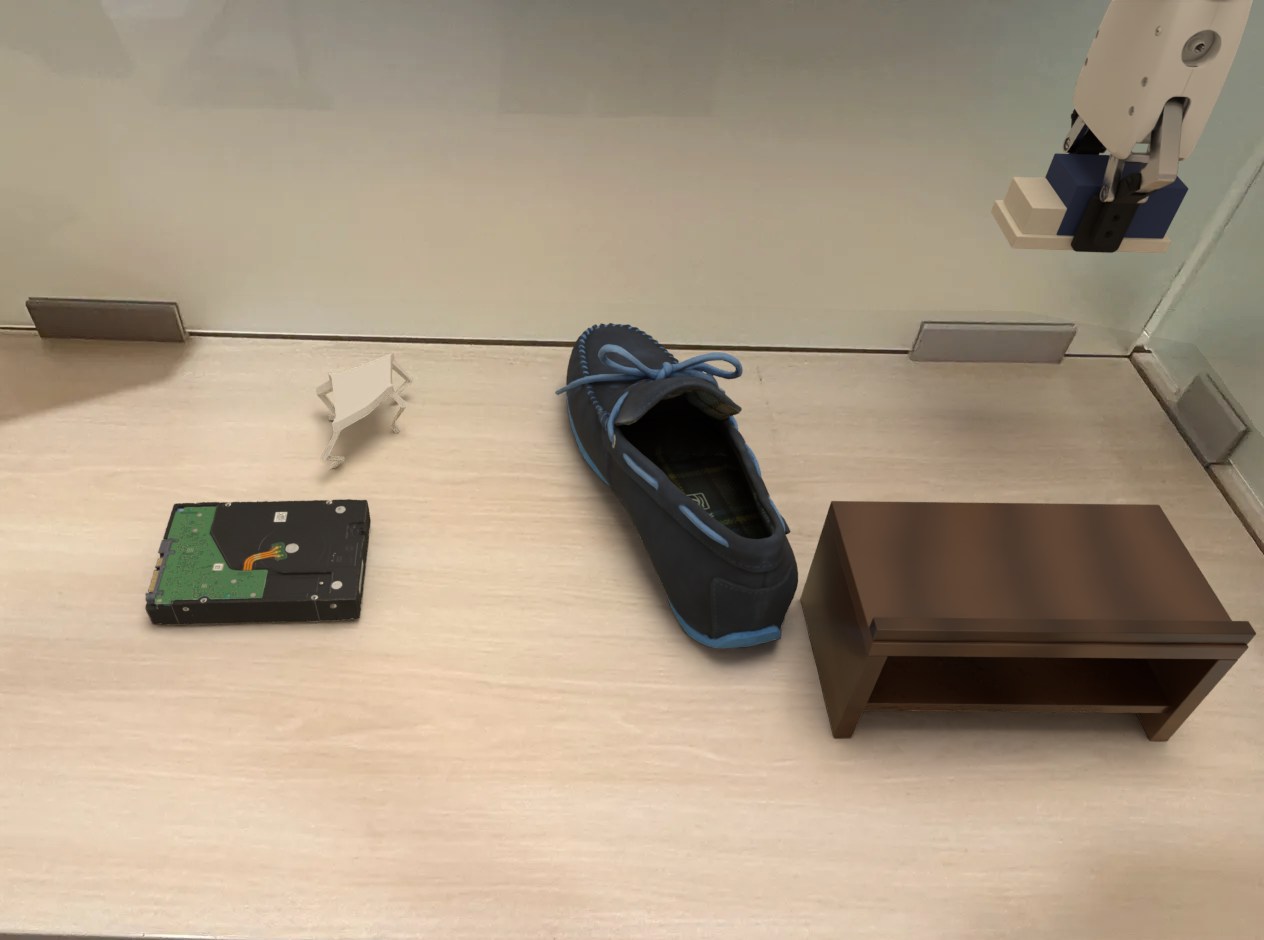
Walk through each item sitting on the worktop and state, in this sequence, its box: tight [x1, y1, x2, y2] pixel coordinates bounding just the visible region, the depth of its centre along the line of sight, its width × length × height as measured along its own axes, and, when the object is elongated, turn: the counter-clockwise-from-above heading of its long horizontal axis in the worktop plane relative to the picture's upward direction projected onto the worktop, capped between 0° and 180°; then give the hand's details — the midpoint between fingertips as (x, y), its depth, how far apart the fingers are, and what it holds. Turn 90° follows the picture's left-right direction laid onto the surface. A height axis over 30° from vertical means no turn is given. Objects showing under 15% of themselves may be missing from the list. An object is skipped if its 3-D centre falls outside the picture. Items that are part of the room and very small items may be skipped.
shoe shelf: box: [800, 500, 1257, 742], centre depth 64 cm, size 22×12×11 cm, turn 90°
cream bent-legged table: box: [315, 352, 414, 470], centre depth 82 cm, size 12×8×5 cm
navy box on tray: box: [990, 152, 1189, 254], centre depth 71 cm, size 11×6×5 cm, turn 88°
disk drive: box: [144, 498, 372, 626], centre depth 72 cm, size 10×3×15 cm
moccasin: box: [555, 322, 799, 649], centre depth 75 cm, size 14×34×12 cm, turn 21°
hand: (1078, 226), depth 72 cm, fingers closed on navy box on tray, 5 cm apart
